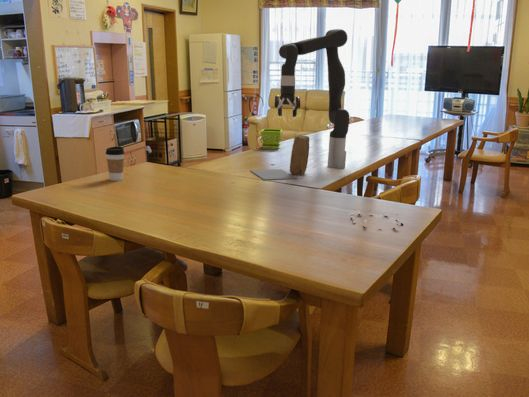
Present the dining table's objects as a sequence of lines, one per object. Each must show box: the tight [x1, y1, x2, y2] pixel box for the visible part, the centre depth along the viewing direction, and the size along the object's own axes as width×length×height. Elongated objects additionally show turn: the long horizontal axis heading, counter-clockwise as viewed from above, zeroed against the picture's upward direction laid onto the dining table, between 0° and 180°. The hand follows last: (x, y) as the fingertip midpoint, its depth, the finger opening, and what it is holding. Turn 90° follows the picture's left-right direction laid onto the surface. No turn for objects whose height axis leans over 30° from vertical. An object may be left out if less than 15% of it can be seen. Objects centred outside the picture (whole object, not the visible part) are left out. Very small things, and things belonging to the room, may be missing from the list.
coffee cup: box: [105, 146, 125, 182], centre depth 227 cm, size 8×8×15 cm
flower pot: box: [260, 128, 283, 150], centre depth 337 cm, size 14×14×13 cm
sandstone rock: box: [289, 134, 310, 176], centre depth 254 cm, size 11×8×20 cm
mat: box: [249, 168, 298, 181], centre depth 252 cm, size 18×22×1 cm
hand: (287, 116), depth 256 cm, fingers open, 8 cm apart
